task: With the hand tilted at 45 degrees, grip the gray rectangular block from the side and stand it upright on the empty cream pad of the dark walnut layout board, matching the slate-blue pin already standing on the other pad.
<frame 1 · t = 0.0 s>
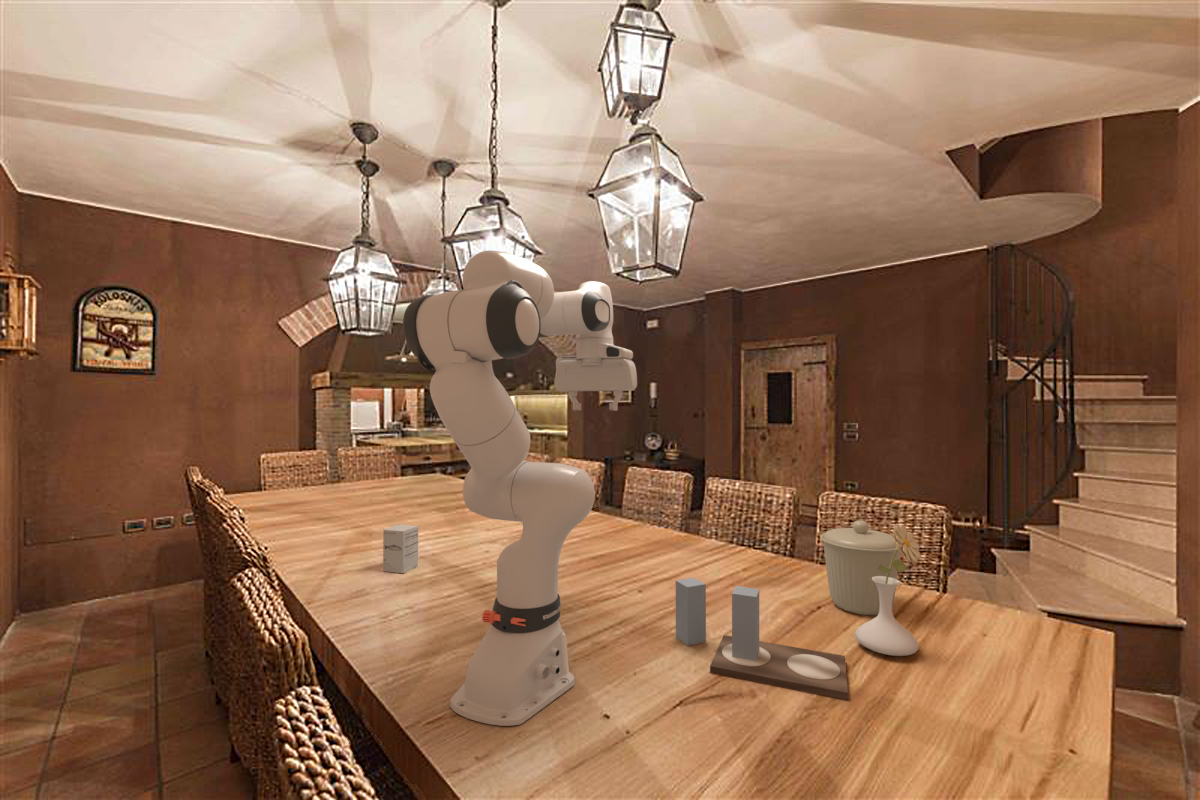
hand: (595, 410, 124), 48 cm above the table, tool pointing down, fingers open, 8 cm apart
gray rectangular block: (690, 639, 110), on the table
canister: (860, 608, 127), on the table
supplement box: (400, 569, 157), on the table
flower in vase: (889, 648, 106), on the table
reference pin: (746, 660, 101), resting on layout board
layout board: (778, 667, 99), on the table
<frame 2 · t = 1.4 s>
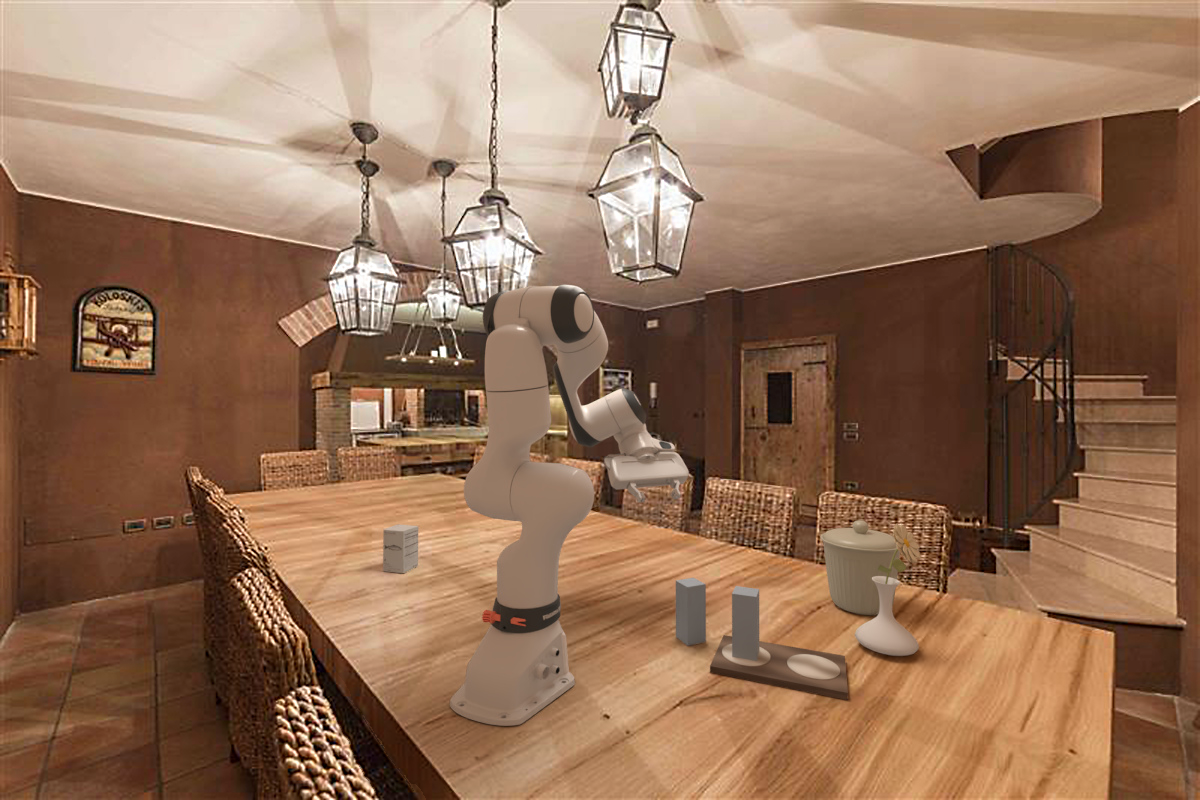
hand: (659, 499, 122), 27 cm above the table, tool tilted 45°, fingers open, 8 cm apart
nothing on the table moved.
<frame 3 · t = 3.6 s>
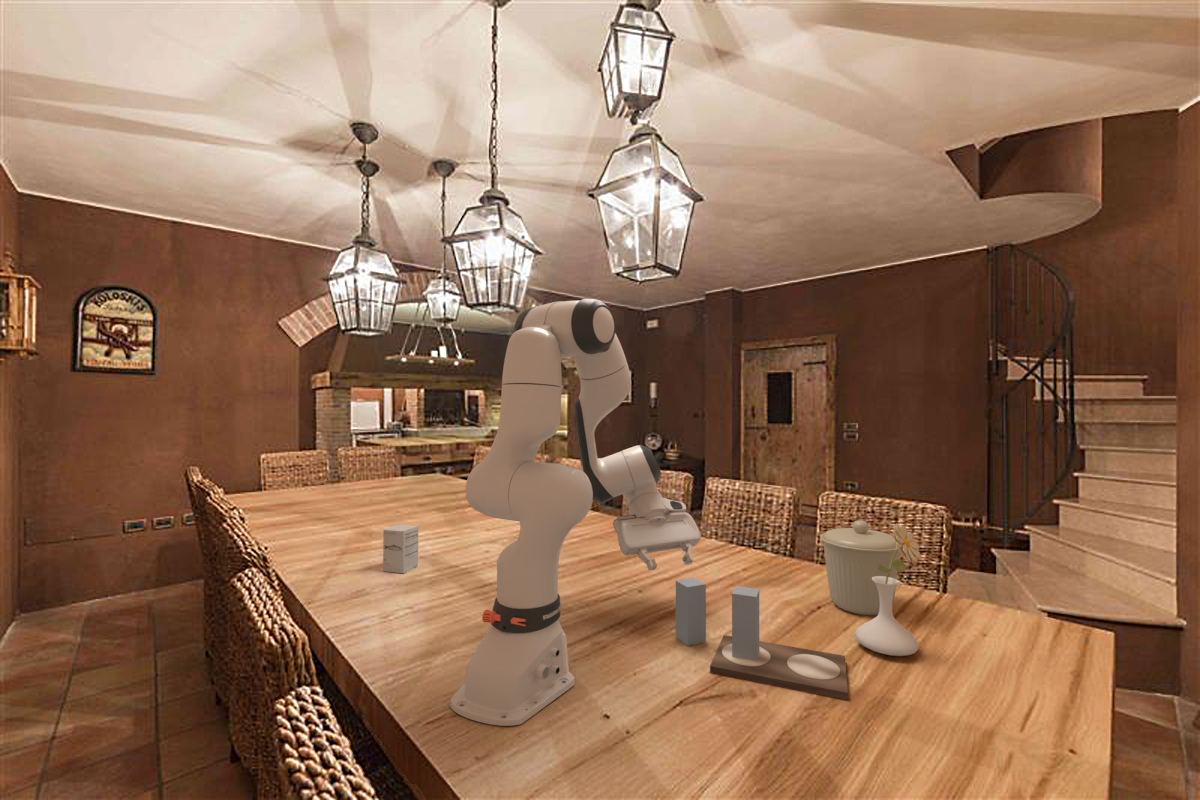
hand: (671, 565, 117), 13 cm above the table, tool tilted 45°, fingers open, 8 cm apart
nothing on the table moved.
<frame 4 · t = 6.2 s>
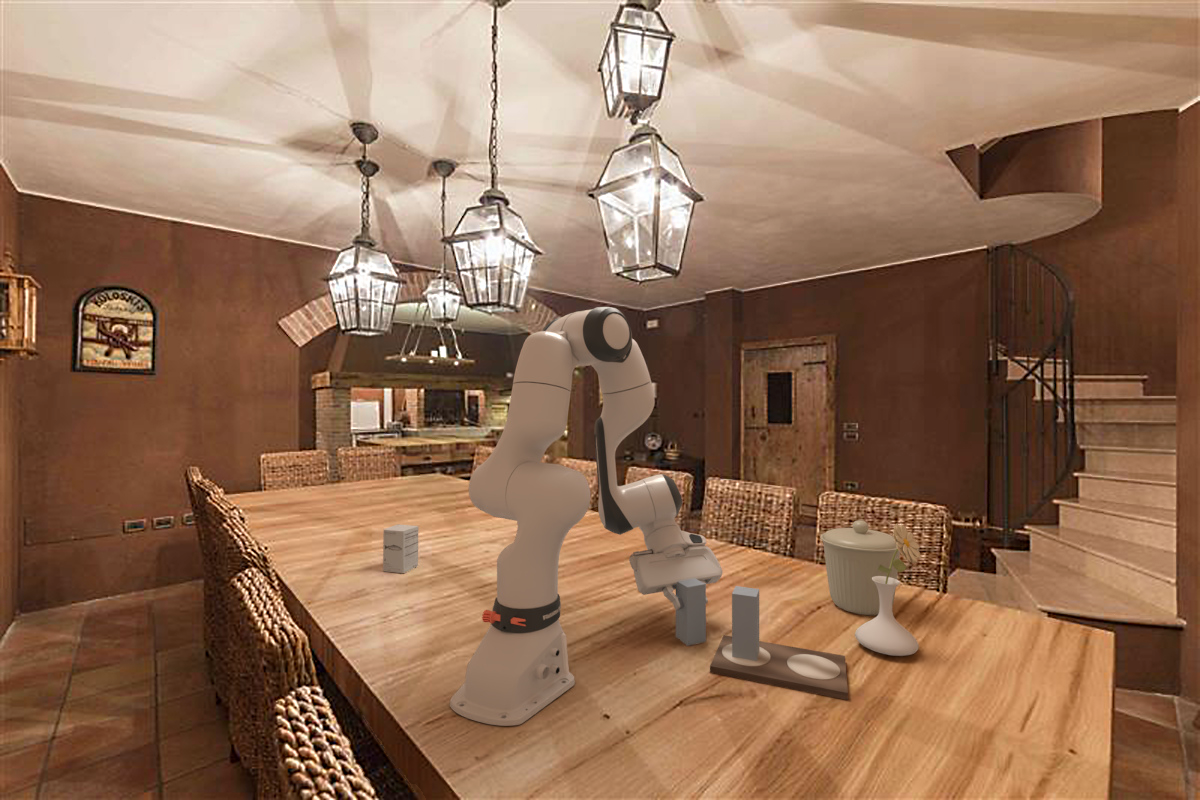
hand: (692, 606, 110), 7 cm above the table, tool tilted 45°, fingers closed on gray rectangular block, 4 cm apart
gray rectangular block: (690, 639, 110), on the table, touching gripper
everything else where it was.
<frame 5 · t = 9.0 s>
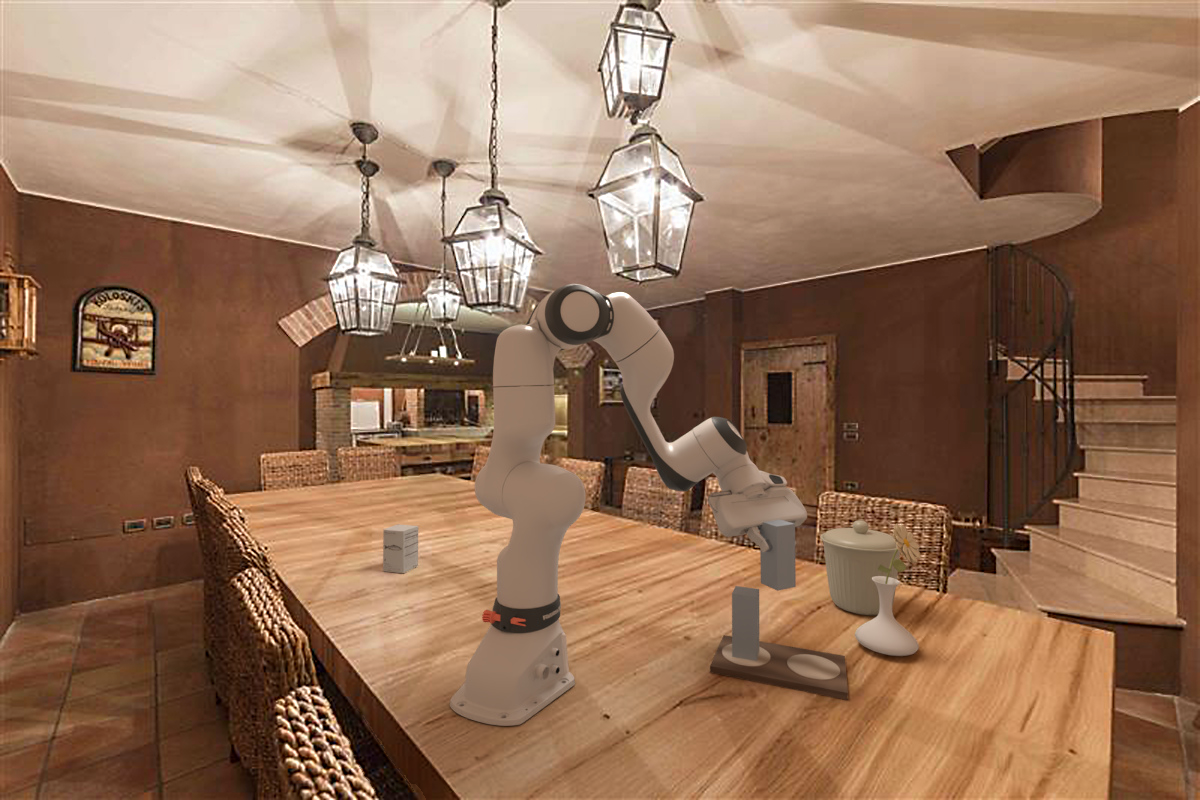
hand: (780, 548, 100), 22 cm above the table, tool tilted 45°, fingers closed on gray rectangular block, 4 cm apart
gray rectangular block: (778, 584, 101), point 15 cm above the table, touching gripper
everything else where it was.
when the fingers open (10 cm above the table, at t = 12.2 s): gray rectangular block stays where it is, resting on layout board.
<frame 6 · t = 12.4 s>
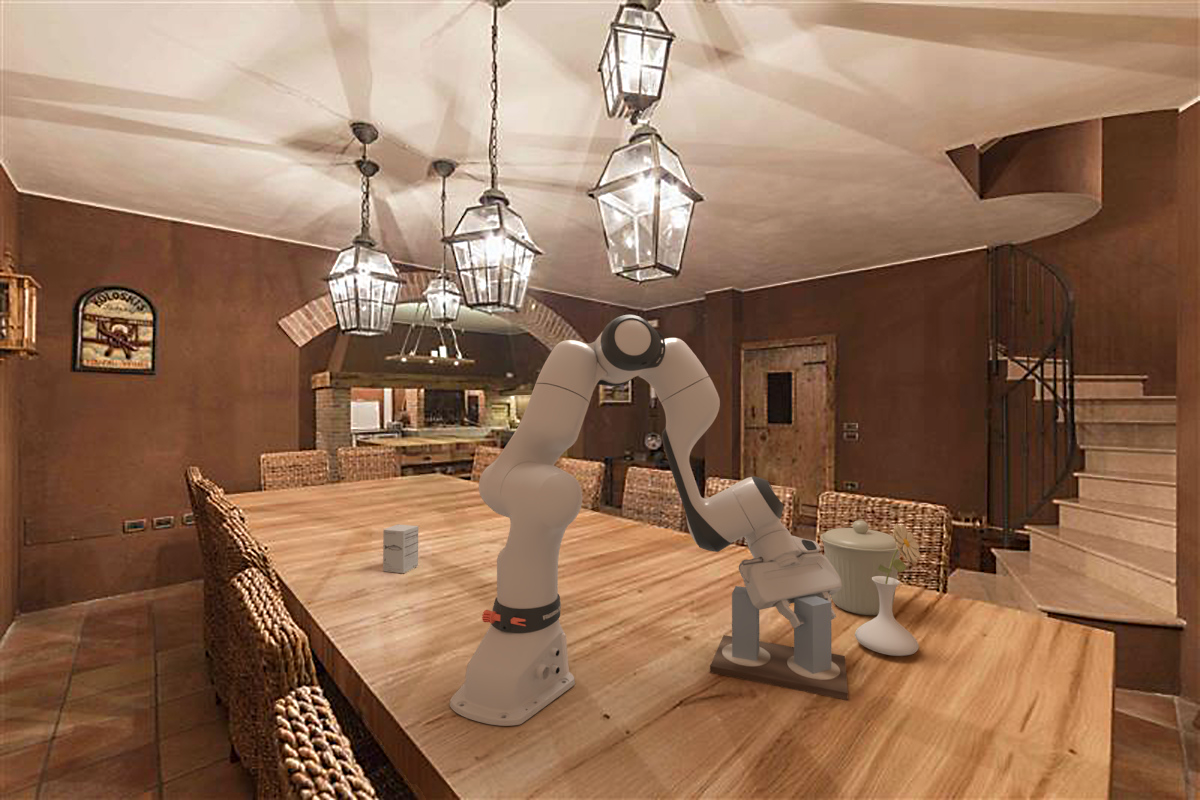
hand: (815, 622, 96), 10 cm above the table, tool tilted 45°, fingers open, 6 cm apart
gray rectangular block: (812, 665, 96), point 1 cm above the table, touching layout board
everything else where it was.
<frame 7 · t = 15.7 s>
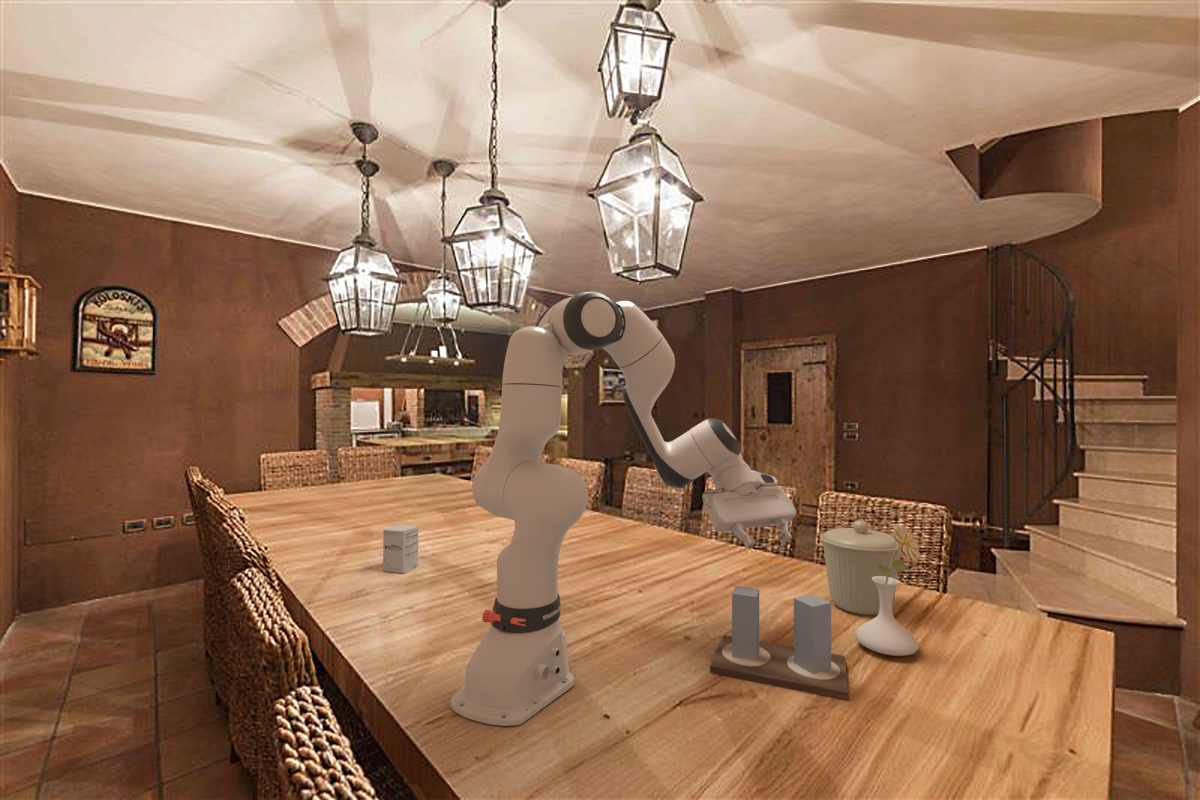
hand: (769, 542, 107), 21 cm above the table, tool tilted 45°, fingers open, 8 cm apart
nothing on the table moved.
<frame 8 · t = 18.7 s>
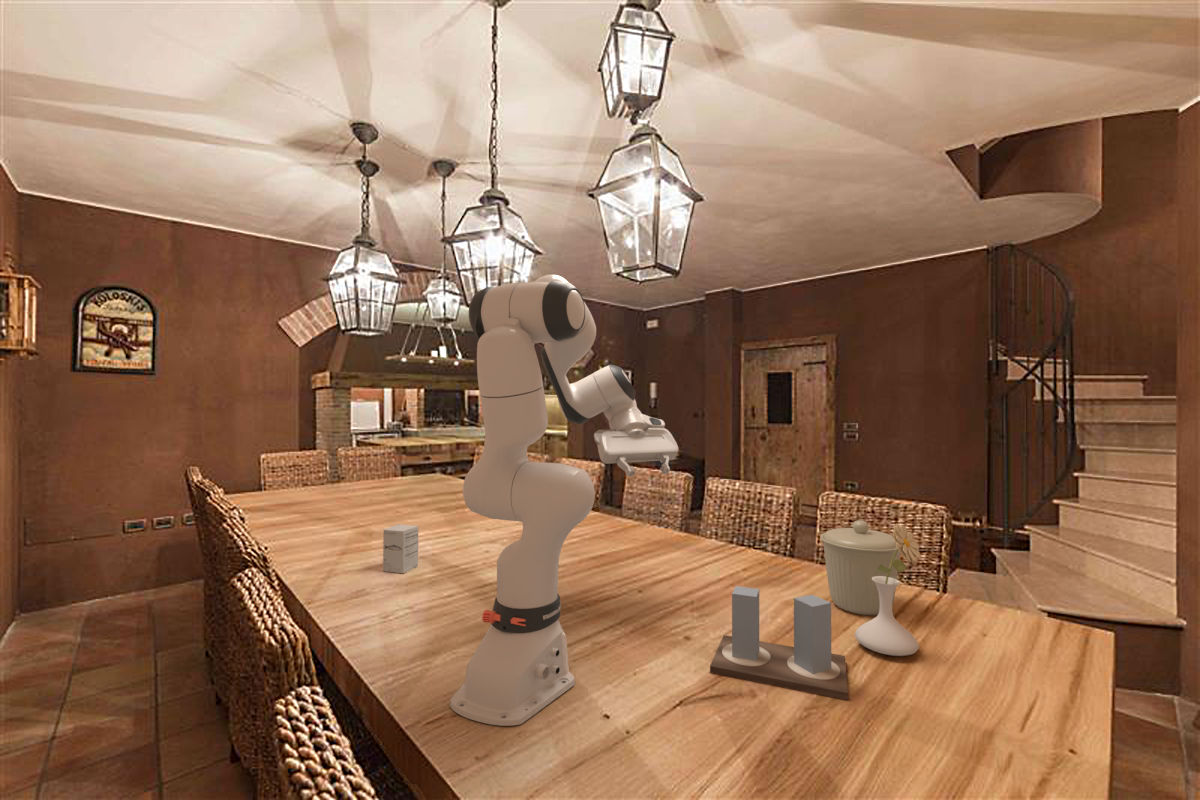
hand: (649, 473, 122), 33 cm above the table, tool tilted 45°, fingers open, 8 cm apart
nothing on the table moved.
at the end: gray rectangular block 0.1 cm from the target spot on the layout board, point 1.4 cm above the layout board's base; gray rectangular block tilted 0°; the gripper is holding nothing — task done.
